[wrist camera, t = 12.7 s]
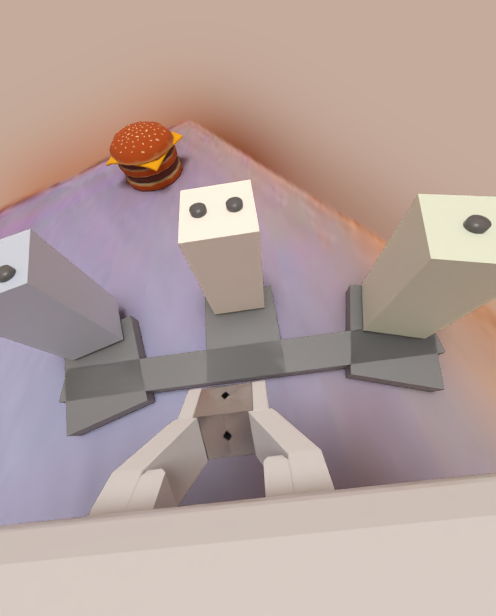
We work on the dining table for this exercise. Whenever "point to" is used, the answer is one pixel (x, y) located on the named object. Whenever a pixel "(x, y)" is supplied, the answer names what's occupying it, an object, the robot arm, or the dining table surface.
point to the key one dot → (433, 266)
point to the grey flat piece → (240, 361)
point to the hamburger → (146, 155)
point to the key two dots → (223, 245)
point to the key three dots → (52, 300)
